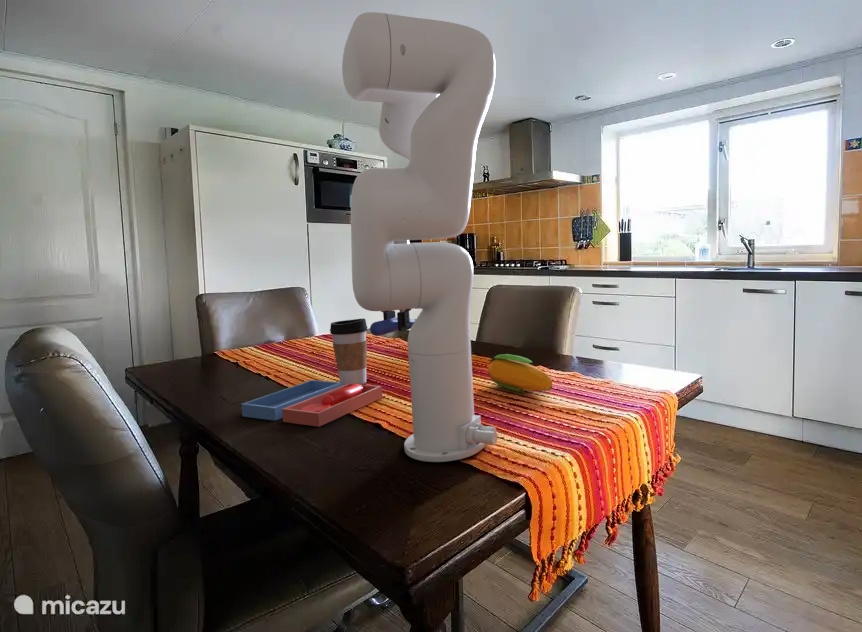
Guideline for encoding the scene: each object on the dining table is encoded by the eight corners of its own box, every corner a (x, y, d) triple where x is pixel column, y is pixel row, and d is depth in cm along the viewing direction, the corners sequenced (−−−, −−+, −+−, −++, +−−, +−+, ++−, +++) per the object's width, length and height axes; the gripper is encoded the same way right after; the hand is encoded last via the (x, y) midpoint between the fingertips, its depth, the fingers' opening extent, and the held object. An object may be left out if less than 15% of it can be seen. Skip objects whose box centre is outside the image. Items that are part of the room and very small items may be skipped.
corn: (504, 346, 117) (565, 359, 102) (507, 377, 119) (568, 395, 103) (478, 353, 113) (537, 368, 97) (481, 386, 114) (540, 405, 99)
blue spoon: (383, 337, 99) (382, 323, 98) (362, 336, 101) (361, 322, 101) (427, 325, 113) (427, 312, 112) (408, 324, 115) (407, 312, 115)
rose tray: (382, 397, 107) (381, 386, 107) (319, 426, 91) (317, 413, 90) (350, 394, 111) (349, 383, 110) (283, 421, 94) (281, 408, 94)
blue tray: (343, 393, 111) (342, 382, 111) (275, 420, 95) (274, 408, 95) (312, 390, 115) (311, 379, 115) (242, 416, 98) (241, 403, 98)
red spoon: (351, 394, 109) (350, 381, 109) (371, 396, 107) (370, 383, 107) (295, 417, 95) (294, 402, 95) (316, 420, 93) (315, 405, 93)
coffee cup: (365, 387, 116) (360, 322, 114) (329, 388, 116) (323, 323, 114) (376, 377, 124) (371, 316, 122) (341, 378, 124) (336, 318, 122)
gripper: (347, 244, 105) (354, 332, 107) (413, 240, 98) (419, 334, 100) (371, 244, 111) (377, 326, 114) (434, 240, 105) (439, 328, 107)
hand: (397, 329), depth 107 cm, fingers closed on blue spoon, 2 cm apart
